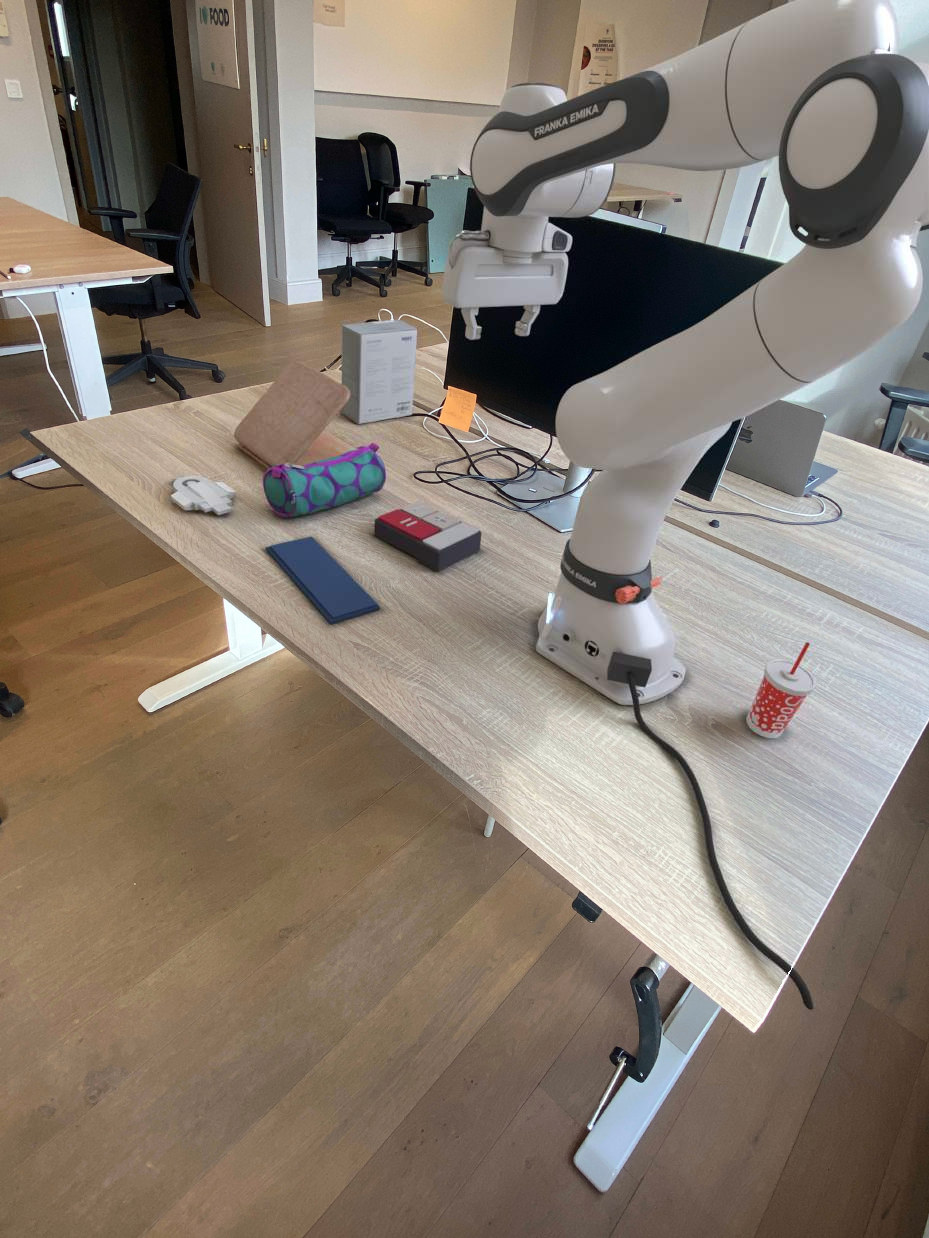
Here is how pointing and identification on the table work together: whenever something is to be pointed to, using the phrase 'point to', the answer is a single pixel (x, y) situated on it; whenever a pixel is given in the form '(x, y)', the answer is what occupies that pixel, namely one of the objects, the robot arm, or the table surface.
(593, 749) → the table surface
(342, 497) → the pencil case
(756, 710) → the beverage cup
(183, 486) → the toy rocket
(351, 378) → the hard drive box
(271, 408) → the case
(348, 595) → the flat dark blue box
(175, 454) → the table surface
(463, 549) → the red and grey box
